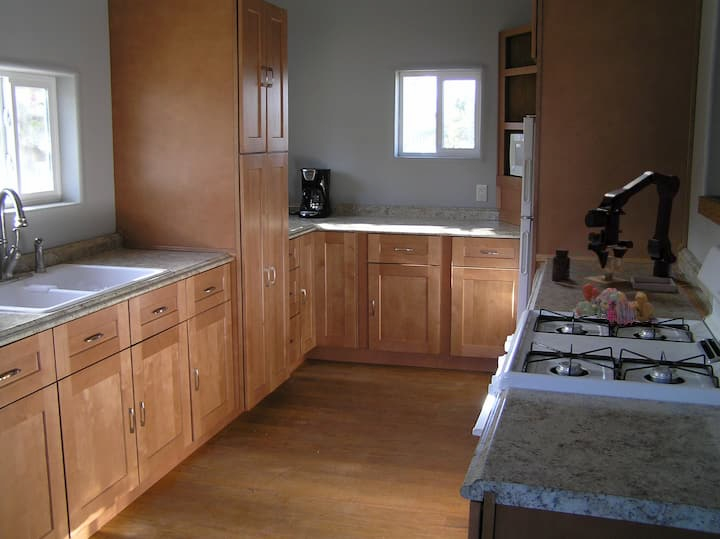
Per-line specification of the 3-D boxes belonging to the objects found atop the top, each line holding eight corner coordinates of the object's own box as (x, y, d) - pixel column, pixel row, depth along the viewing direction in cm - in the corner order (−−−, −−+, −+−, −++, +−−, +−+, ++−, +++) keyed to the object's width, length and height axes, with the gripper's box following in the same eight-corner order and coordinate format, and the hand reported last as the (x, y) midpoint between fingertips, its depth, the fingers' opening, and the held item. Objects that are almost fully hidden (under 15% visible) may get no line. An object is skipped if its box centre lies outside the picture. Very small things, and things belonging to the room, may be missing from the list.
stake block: (603, 277, 306) (605, 255, 304) (628, 282, 296) (629, 260, 294) (581, 280, 300) (582, 257, 298) (605, 285, 290) (607, 262, 288)
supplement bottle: (571, 282, 295) (573, 251, 293) (553, 282, 295) (555, 250, 293) (567, 279, 302) (569, 248, 300) (549, 278, 302) (551, 248, 300)
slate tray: (630, 282, 295) (631, 276, 295) (671, 285, 291) (671, 278, 291) (632, 290, 282) (633, 283, 281) (675, 292, 278) (675, 285, 277)
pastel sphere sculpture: (653, 311, 250) (655, 283, 249) (659, 329, 228) (661, 298, 226) (572, 306, 257) (573, 278, 256) (570, 322, 235) (572, 292, 233)
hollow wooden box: (608, 269, 303) (609, 256, 302) (625, 272, 295) (626, 259, 295) (596, 270, 299) (597, 257, 298) (613, 273, 292) (614, 260, 291)
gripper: (612, 223, 307) (610, 262, 309) (577, 226, 297) (575, 266, 300) (635, 226, 297) (632, 267, 300) (600, 229, 288) (597, 271, 291)
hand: (609, 267), depth 298 cm, fingers closed on hollow wooden box, 6 cm apart
